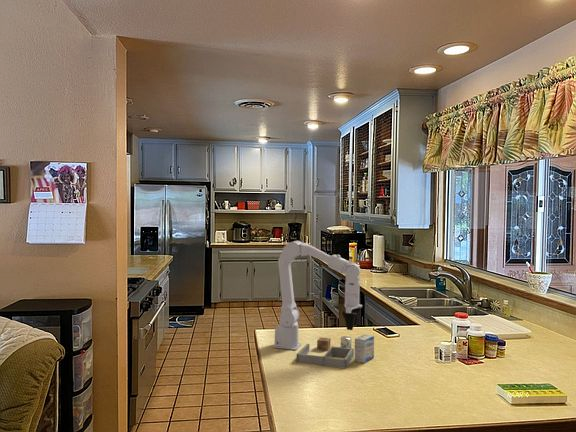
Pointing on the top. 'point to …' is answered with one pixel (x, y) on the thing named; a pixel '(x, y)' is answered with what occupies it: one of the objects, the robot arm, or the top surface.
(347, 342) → the silver metal cylinder
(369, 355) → the medicine box
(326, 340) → the block
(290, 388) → the top surface
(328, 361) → the housing
